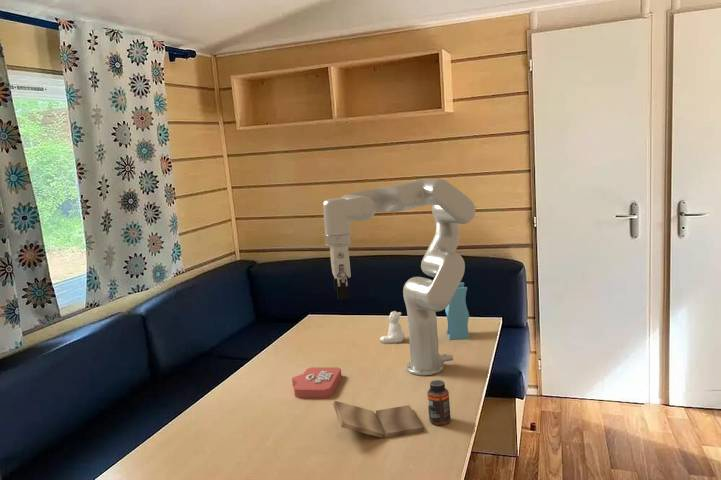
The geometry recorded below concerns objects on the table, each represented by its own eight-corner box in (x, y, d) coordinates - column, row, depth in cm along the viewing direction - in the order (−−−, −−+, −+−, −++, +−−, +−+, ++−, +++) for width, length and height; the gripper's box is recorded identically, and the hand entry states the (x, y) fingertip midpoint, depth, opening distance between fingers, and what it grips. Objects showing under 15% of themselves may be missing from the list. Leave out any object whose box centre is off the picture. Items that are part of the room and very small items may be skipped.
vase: (470, 338, 230) (467, 287, 226) (449, 340, 230) (446, 289, 226) (466, 331, 237) (464, 282, 234) (446, 333, 238) (443, 283, 234)
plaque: (299, 365, 208) (342, 365, 205) (300, 376, 209) (343, 376, 206) (283, 387, 191) (329, 388, 188) (284, 399, 191) (330, 399, 188)
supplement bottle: (452, 416, 170) (450, 378, 168) (448, 427, 164) (446, 388, 162) (431, 415, 172) (429, 377, 170) (427, 425, 166) (424, 386, 164)
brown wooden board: (409, 408, 177) (409, 405, 176) (423, 431, 163) (422, 427, 163) (373, 414, 175) (373, 411, 174) (384, 438, 161) (383, 433, 161)
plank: (372, 414, 175) (373, 411, 174) (382, 438, 161) (384, 433, 161) (333, 404, 172) (334, 400, 172) (340, 427, 158) (342, 422, 158)
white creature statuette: (392, 335, 241) (389, 306, 239) (410, 338, 236) (408, 308, 234) (378, 343, 233) (376, 313, 231) (397, 346, 228) (395, 315, 226)
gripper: (354, 243, 174) (357, 301, 176) (346, 234, 191) (350, 287, 193) (328, 245, 173) (332, 303, 175) (323, 236, 190) (326, 289, 192)
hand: (341, 295), depth 184 cm, fingers open, 9 cm apart
